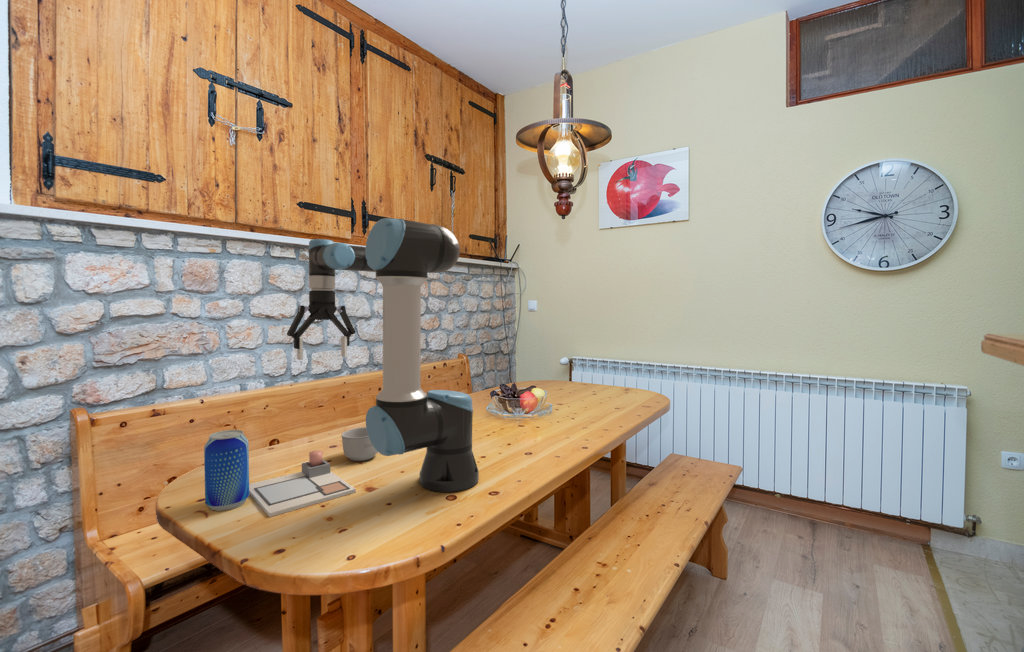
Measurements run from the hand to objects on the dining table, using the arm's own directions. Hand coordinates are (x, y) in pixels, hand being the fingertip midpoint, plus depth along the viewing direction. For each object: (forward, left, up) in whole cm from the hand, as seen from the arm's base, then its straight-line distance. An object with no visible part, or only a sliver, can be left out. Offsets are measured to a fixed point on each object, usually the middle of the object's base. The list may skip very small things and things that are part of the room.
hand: (322, 358), depth 142 cm
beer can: (-27, +32, -28) cm, 50 cm away
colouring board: (-30, +17, -28) cm, 45 cm away
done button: (-23, +11, -25) cm, 36 cm away
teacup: (-17, -5, -28) cm, 33 cm away
